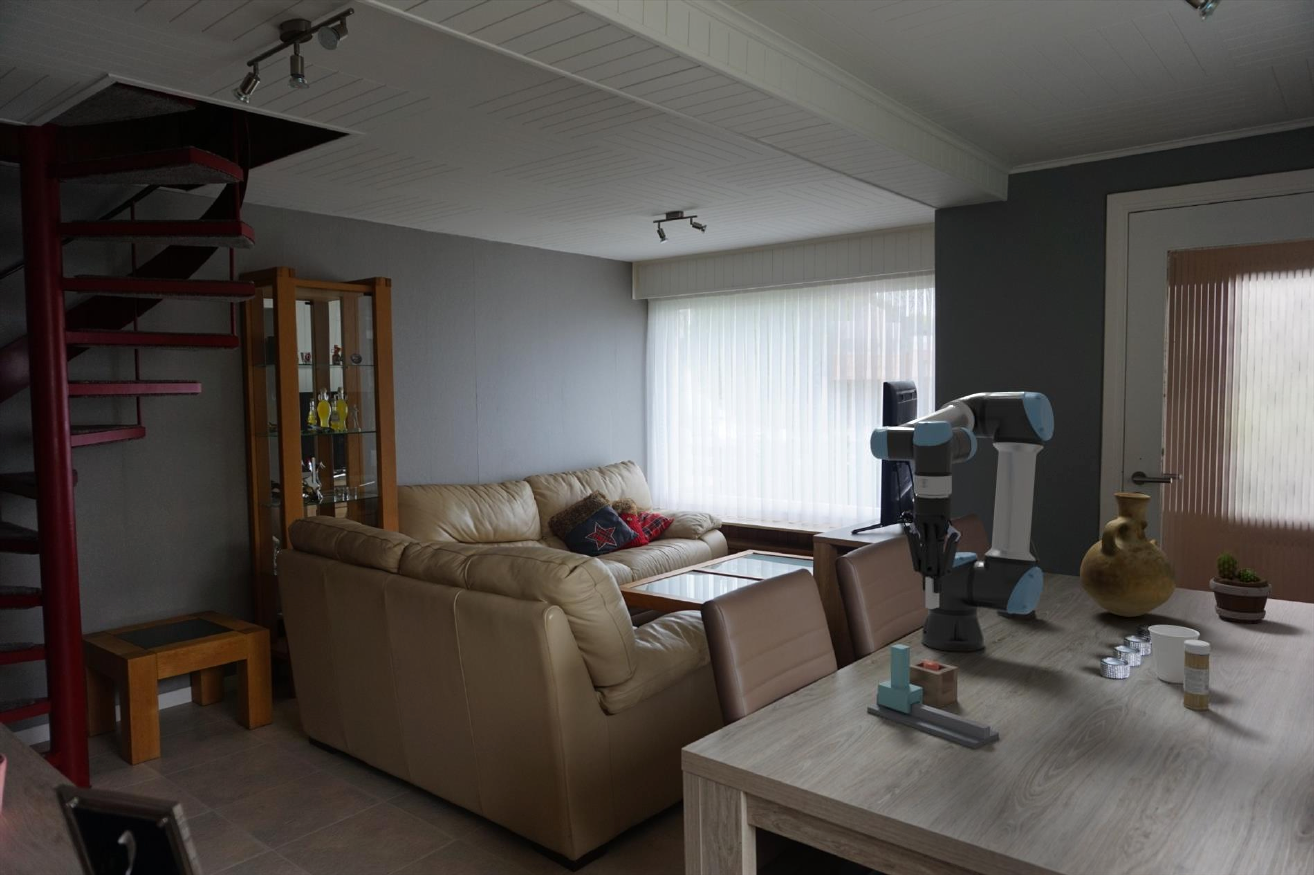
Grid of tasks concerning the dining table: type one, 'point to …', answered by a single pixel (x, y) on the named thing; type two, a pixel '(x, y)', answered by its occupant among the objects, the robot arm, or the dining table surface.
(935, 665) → the cylinder
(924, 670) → the open wooden box
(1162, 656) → the cup
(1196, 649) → the sprinkles bottle
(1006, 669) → the dining table surface
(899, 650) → the carriage
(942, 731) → the rail bed
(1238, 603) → the flowerpot
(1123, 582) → the vase
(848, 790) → the dining table surface
